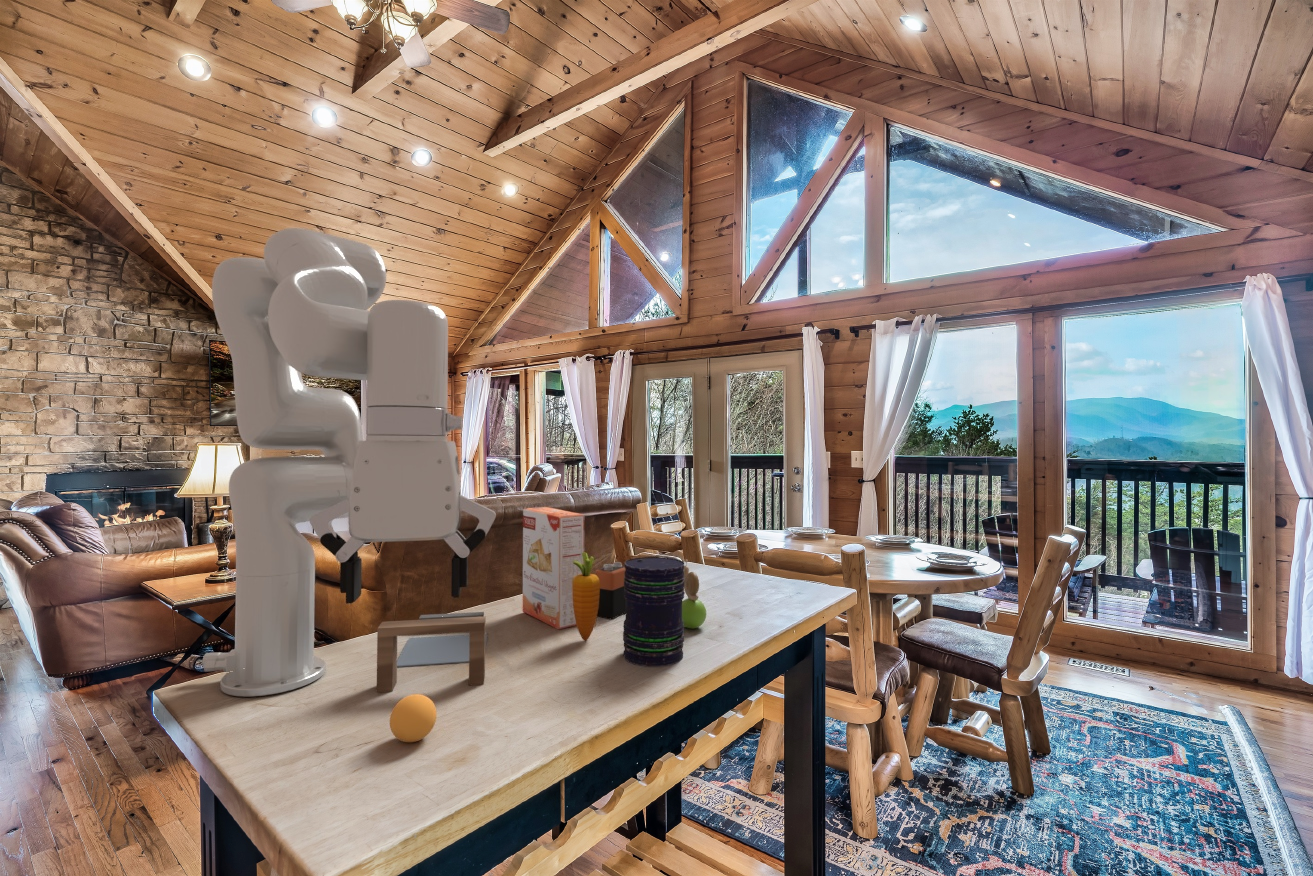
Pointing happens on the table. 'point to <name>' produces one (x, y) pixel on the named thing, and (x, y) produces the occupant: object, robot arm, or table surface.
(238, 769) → the table surface
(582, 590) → the carrot
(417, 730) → the ball
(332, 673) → the table surface
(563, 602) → the cracker box
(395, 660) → the bridge
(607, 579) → the battery
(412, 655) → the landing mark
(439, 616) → the wall
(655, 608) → the dark blue cylinder
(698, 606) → the snail figurine
